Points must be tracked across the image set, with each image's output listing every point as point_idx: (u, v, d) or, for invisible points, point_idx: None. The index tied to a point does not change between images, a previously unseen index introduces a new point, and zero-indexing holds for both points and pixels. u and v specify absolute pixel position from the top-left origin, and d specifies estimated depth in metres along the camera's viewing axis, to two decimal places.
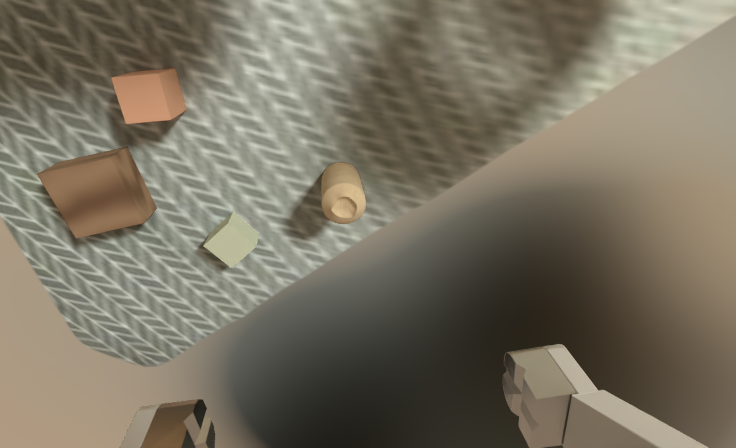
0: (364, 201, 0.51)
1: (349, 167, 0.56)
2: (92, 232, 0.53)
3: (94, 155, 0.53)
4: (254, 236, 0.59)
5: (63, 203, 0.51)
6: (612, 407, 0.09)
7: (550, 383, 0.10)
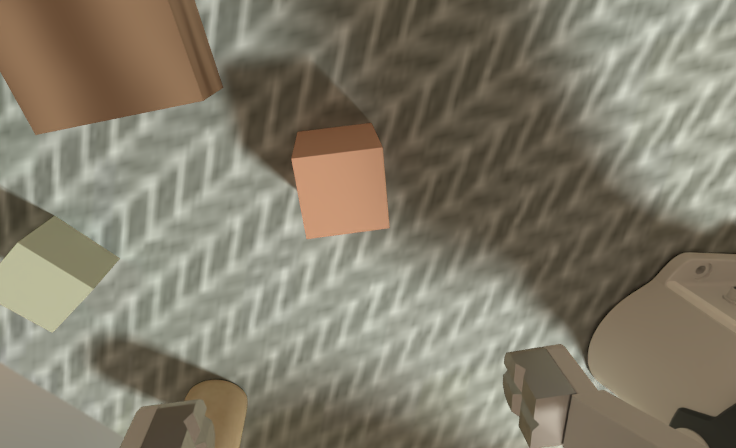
0: None
1: None
2: None
3: (196, 20, 0.23)
4: None
5: None
6: (612, 407, 0.09)
7: (550, 383, 0.10)
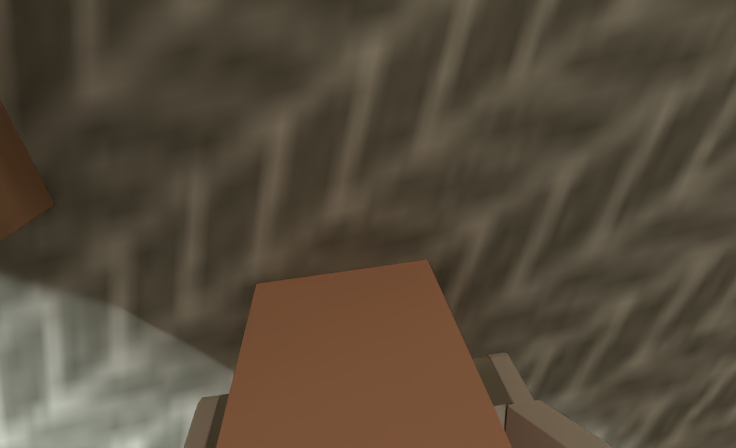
0: None
1: None
2: None
3: None
4: None
5: None
6: (545, 418, 0.09)
7: (488, 393, 0.10)
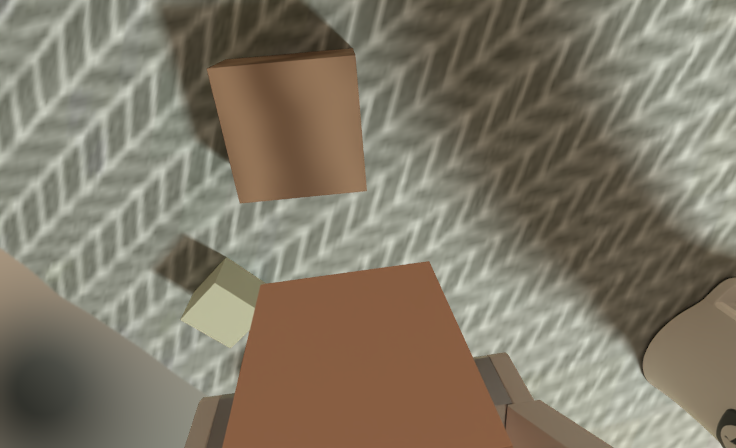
0: None
1: None
2: (221, 107, 0.26)
3: None
4: None
5: (289, 78, 0.25)
6: (545, 418, 0.09)
7: None
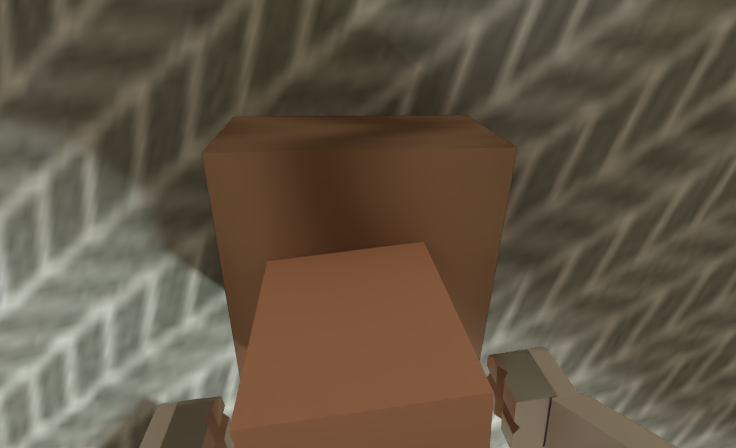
0: None
1: None
2: (225, 229, 0.12)
3: None
4: None
5: (376, 182, 0.12)
6: (591, 411, 0.09)
7: (531, 386, 0.10)
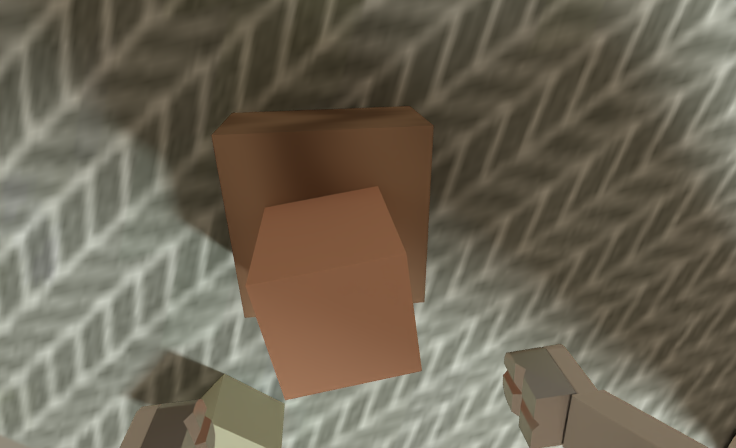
0: None
1: None
2: (228, 190, 0.17)
3: None
4: None
5: (334, 153, 0.17)
6: (612, 407, 0.09)
7: (550, 383, 0.10)
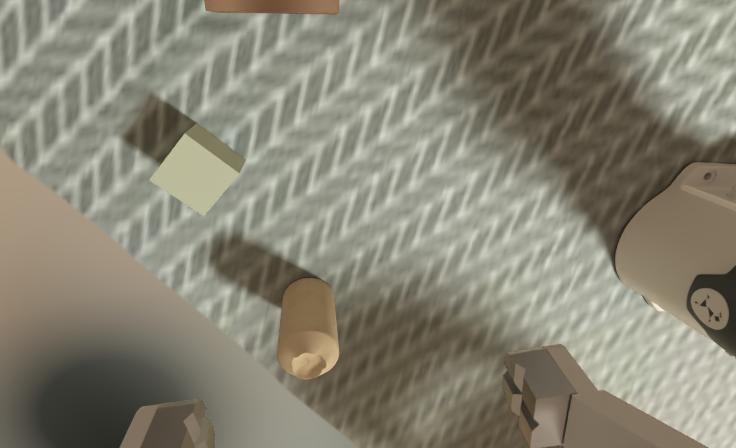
0: None
1: None
2: None
3: None
4: None
5: None
6: (612, 408, 0.09)
7: (550, 383, 0.10)
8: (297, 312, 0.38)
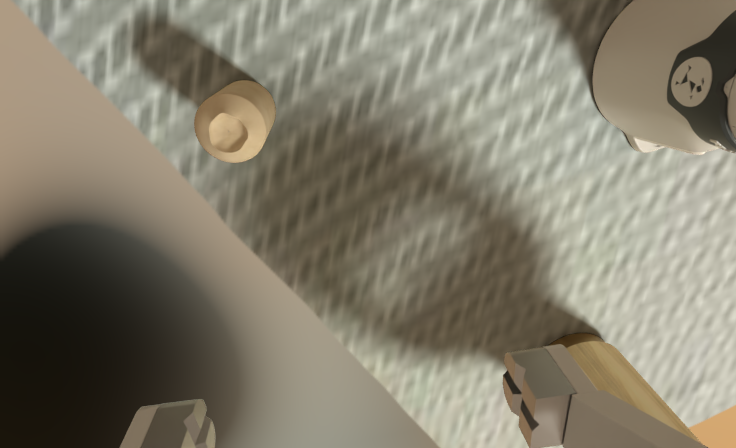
0: (239, 160, 0.34)
1: None
2: None
3: None
4: None
5: None
6: (612, 408, 0.09)
7: (550, 383, 0.10)
8: (222, 89, 0.34)
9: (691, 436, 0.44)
